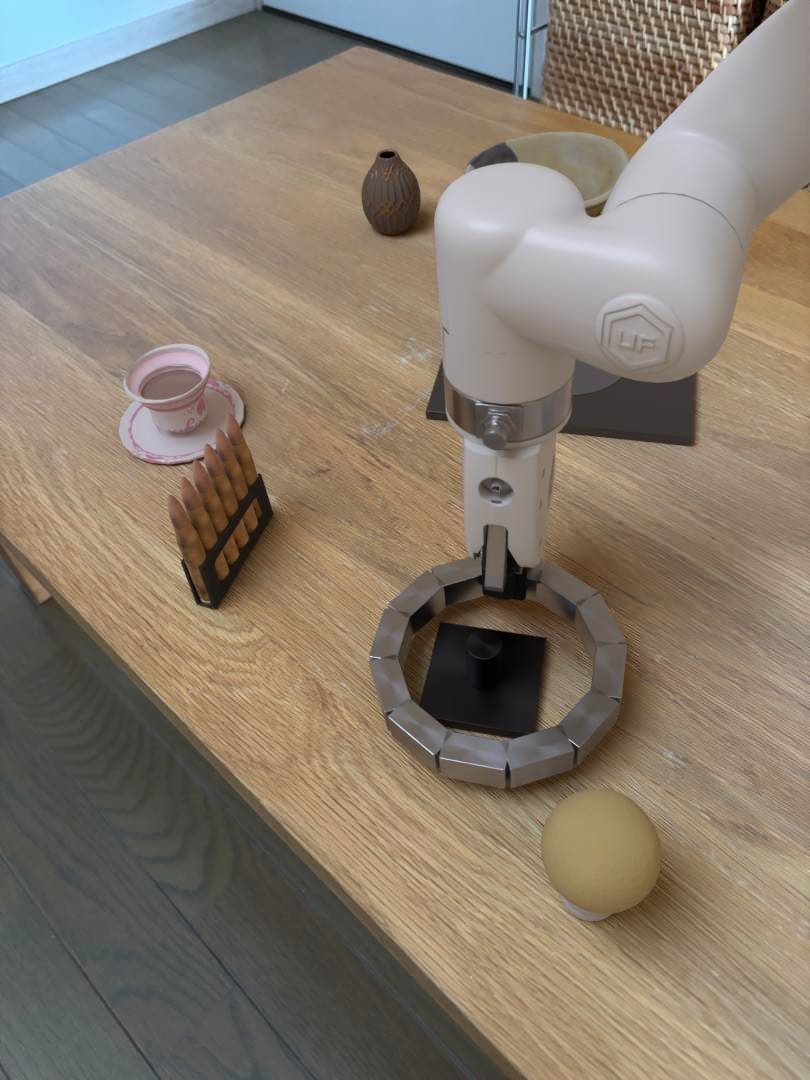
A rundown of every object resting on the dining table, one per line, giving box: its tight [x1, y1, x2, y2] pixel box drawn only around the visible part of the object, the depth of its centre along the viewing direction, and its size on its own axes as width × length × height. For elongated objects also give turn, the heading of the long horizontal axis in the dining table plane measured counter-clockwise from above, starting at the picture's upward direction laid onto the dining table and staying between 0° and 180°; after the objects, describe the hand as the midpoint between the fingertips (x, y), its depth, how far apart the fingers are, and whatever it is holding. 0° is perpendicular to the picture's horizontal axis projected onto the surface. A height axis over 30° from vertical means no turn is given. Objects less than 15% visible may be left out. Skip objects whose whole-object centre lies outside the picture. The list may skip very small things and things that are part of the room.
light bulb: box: [540, 788, 663, 922], centre depth 48 cm, size 6×6×10 cm
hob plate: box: [425, 358, 696, 447], centre depth 84 cm, size 24×20×1 cm
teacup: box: [118, 343, 245, 465], centre depth 80 cm, size 12×12×6 cm
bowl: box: [463, 131, 631, 217], centre depth 95 cm, size 18×18×10 cm
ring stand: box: [418, 621, 548, 739], centre depth 60 cm, size 8×8×5 cm
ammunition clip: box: [167, 413, 274, 610], centre depth 67 cm, size 11×2×12 cm, turn 160°
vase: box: [360, 148, 422, 236], centre depth 100 cm, size 7×7×9 cm
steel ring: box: [368, 552, 628, 790], centre depth 60 cm, size 17×17×3 cm
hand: (507, 578), depth 64 cm, fingers closed on steel ring, 2 cm apart
